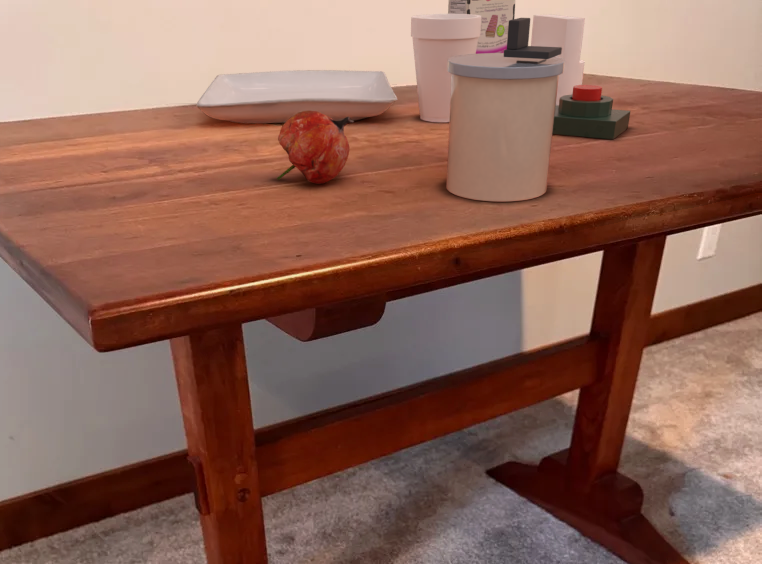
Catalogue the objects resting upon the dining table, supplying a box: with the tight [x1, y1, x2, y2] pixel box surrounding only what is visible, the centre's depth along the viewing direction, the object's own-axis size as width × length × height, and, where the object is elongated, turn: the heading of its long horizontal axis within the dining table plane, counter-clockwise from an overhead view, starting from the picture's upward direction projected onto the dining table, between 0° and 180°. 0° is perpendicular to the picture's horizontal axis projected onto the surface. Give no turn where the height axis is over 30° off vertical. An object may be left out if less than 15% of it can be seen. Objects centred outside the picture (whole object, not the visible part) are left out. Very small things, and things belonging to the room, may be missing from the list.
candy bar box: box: [447, 0, 516, 54], centre depth 131 cm, size 11×5×16 cm, turn 129°
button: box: [572, 84, 603, 101], centre depth 102 cm, size 4×4×2 cm
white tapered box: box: [530, 13, 586, 105], centre depth 119 cm, size 9×9×12 cm
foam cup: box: [410, 13, 481, 123], centre depth 110 cm, size 10×9×13 cm
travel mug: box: [445, 53, 565, 203], centre depth 78 cm, size 11×11×12 cm
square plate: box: [196, 69, 398, 124], centre depth 119 cm, size 27×27×4 cm
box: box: [552, 94, 631, 141], centre depth 104 cm, size 10×8×4 cm
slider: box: [504, 17, 562, 59], centre depth 73 cm, size 4×4×3 cm
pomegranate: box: [276, 110, 355, 185], centre depth 82 cm, size 7×7×10 cm
